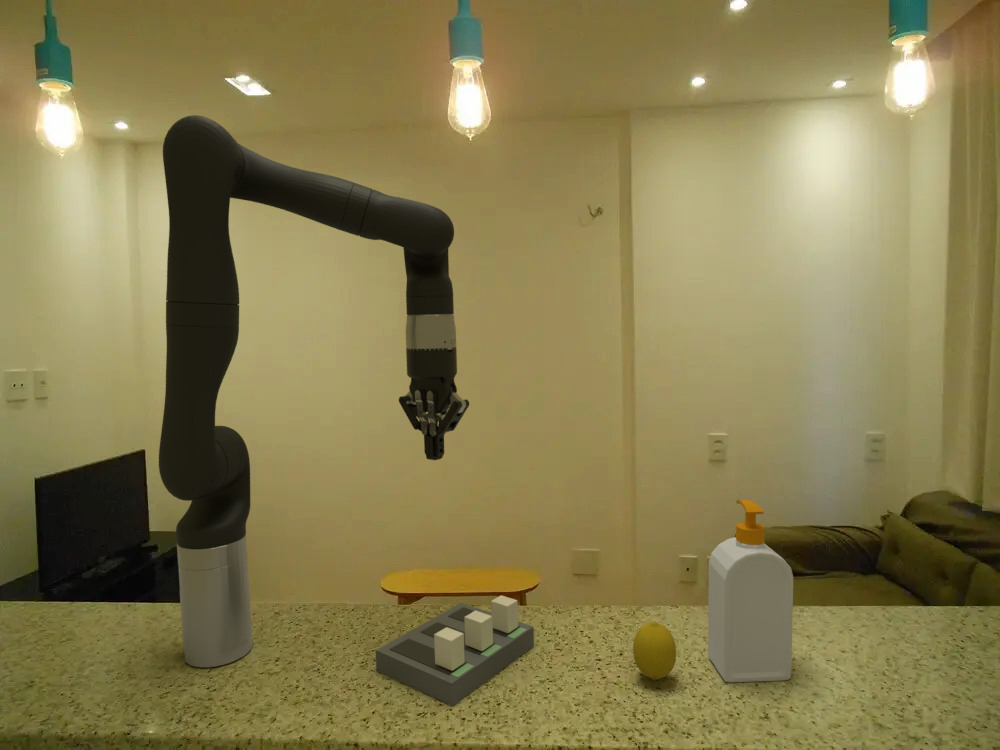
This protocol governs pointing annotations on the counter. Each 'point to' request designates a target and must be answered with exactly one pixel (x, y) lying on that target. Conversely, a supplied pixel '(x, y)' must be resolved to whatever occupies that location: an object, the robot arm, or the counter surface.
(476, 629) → the block
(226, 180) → the robot arm
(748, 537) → the soap bottle
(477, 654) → the breaker panel
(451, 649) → the block
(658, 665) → the lemon
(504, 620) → the block
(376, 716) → the counter surface
